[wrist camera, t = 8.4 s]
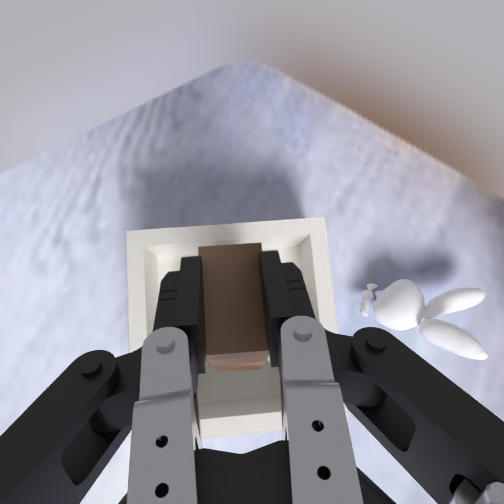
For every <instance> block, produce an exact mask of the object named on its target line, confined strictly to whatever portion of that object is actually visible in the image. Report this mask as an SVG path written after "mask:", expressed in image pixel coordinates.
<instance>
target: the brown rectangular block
mask: <svg viewBox="0 0 504 504" xmlns="http://www.w3.org/2000/svg"><path fill="white" fill-rule="evenodd" d="M259 251H262V243H261V242H260V243H245V244H231V245H216V246H201V247H198V256H201V257H202V265H203V286H204V307H205V328H206V360H207V361H208V362H209V363H210V364H211V365H212V366H213V367H214V368H215V369H216V370H217V371H218V372H219V373H221V372H233V371H245V370H257V369H261V367H262V366H263V364H264V362H265V361H266V359H267V357H268V356H269V350H268V344H267V337H266V328H265V318H264V308H263V298H262V288H261V278H260V268H259V258H258V253H259Z"/></svg>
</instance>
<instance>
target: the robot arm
mask: <svg viewBox="0 0 504 504" xmlns="http://www.w3.org/2000/svg"><path fill="white" fill-rule="evenodd" d="M258 258H259V268H260V278H261V288H262V298H263V308H264V318H265V328H266V337H267V344H268V350H269V357H270V363H271V368H272V367H278V368H279V374H280V401H281V420H282V440H281V441H277V442H274V443H271V444H269V445H266V446H264V447H261V448H258V449H256V450H253V451H250V452H248V453H245V454H236V453H230V452H224V451H218V450H212V449H206V448H203V447H202V436H201V425H200V413H199V402H198V392H197V388H198V374H205V373H206V328H205V307H204V286H203V265H202V257H201V256H190V257H181V264H180V271H169V272H167V274H166V275H165V276H164V278H163V279H162V280H161V284H160V290H159V296H158V302H157V308H156V314H155V320H154V326H153V331H152V333H151V334H149V335H148V336H147V337H146V339H145V340H144V342H143V345H142V347H140V348H139V349H137V350H135V351H133V352H131V353H128V354H125V355H122V356H119V357H116V358H115V357H114V355H113V354H112V353H110V352H108V351H105V350H95V351H90V352H87V353H85V354H83V355H81V356H80V357H78V358H77V359H76V360H74V361H73V362H72V363H71V364H70V365H69V366H68V367H67V368H66V370H65V371H64V372H63V373H62V374H61V375H60V376H59V377H58V378H57V379H56V380H55V381H54V382H53V383H52V384H51V385H50V386H49V387H48V388H47V389H46V390H45V391H44V392H43V393H42V394H41V395H40V396H39V397H38V398H37V399H36V400H35V401H34V402H33V403H32V404H31V405H30V406H29V407H28V408H27V409H26V410H25V411H24V413H23V414H22V415H21V416H20V417H19V418H18V419H17V420H16V421H15V422H14V423H13V424H12V425H11V426H10V427H9V428H8V429H7V430H6V431H5V432H4V433H3V434H2V435H1V436H0V504H80V502H81V501H82V499H83V498H84V496H85V495H86V494H87V492H88V491H89V489H90V488H91V487H92V485H93V484H94V482H95V481H96V479H97V478H98V477H99V475H100V474H101V472H102V471H103V469H104V468H105V467H106V465H107V464H108V462H109V461H110V460H111V458H112V457H113V455H114V454H115V452H116V451H117V450H118V448H119V447H120V445H121V444H122V442H123V441H124V440H125V438H126V437H127V435H128V434H129V433H130V431H131V430H132V434H131V449H130V463H129V478H128V492H127V493H126V495H125V496H124V497H123V498H122V500H121V501H120V502H119V503H118V504H396V503H395V502H394V501H393V500H392V499H391V498H390V497H389V496H388V495H387V494H386V493H385V492H383V491H382V490H381V489H380V488H379V487H378V486H377V485H376V484H375V483H374V482H373V481H372V480H371V479H370V478H368V477H367V476H366V475H365V474H364V473H363V472H362V471H361V470H360V469H359V468H357V467H356V463H355V458H354V453H353V448H352V443H351V438H350V433H349V428H348V423H347V418H346V413H345V408H344V404H345V406H346V407H347V408H348V410H349V411H350V412H351V413H352V414H353V415H354V416H355V417H356V418H357V419H358V420H359V421H360V422H361V423H362V424H363V425H364V426H365V428H366V429H367V430H368V431H369V432H370V433H371V434H372V435H373V436H374V437H375V438H376V439H377V440H378V441H379V442H380V443H381V444H382V445H383V446H384V448H385V449H386V450H387V451H388V452H389V453H390V454H391V455H392V456H393V457H394V458H395V459H396V460H397V461H398V462H399V463H400V464H401V465H402V466H403V468H404V469H405V470H406V471H407V472H408V473H409V474H410V475H411V476H412V477H413V478H414V479H415V480H416V481H417V482H418V483H419V484H420V485H421V486H422V488H423V489H424V490H425V491H426V492H427V493H428V494H429V495H430V496H431V497H432V498H433V499H434V500H435V501H436V502H437V503H438V504H504V422H503V421H502V420H501V419H500V418H498V417H497V416H496V415H494V414H493V413H492V412H491V411H489V410H488V409H487V408H486V407H484V406H483V405H482V404H480V403H479V402H478V401H477V400H475V399H474V398H473V397H471V396H470V395H469V394H468V393H466V392H465V391H464V390H462V389H461V388H460V387H459V386H457V385H456V384H455V383H453V382H452V381H451V380H450V379H448V378H447V377H446V376H444V375H443V374H442V373H441V372H439V371H438V370H437V369H435V368H434V367H433V366H432V365H430V364H429V363H428V362H426V361H425V360H424V359H423V358H421V357H420V356H419V355H417V354H416V353H415V352H414V351H412V350H411V349H410V348H408V347H407V346H406V345H405V344H403V343H402V342H401V341H399V340H398V339H397V338H396V337H394V336H393V335H392V334H390V333H389V332H387V331H385V330H383V329H380V328H375V327H366V328H362V329H360V330H358V331H357V332H356V333H355V334H354V335H353V337H352V336H346V335H340V334H336V333H333V332H330V331H328V330H326V329H325V328H324V327H323V325H322V324H321V323H320V322H319V321H317V320H316V317H315V314H314V311H313V308H312V304H311V301H310V298H309V295H308V291H307V289H306V285H305V282H304V279H303V275H302V272H301V270H300V269H299V268H298V267H297V266H296V265H295V264H294V263H293V262H286V263H281V260H280V256H279V252H278V250H270V251H259V253H258Z"/></svg>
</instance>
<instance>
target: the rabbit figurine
mask: <svg viewBox="0 0 504 504" xmlns="http://www.w3.org/2000/svg"><path fill="white" fill-rule="evenodd" d="M366 286H367V288H368V289H366V290H364V291H363V292H362V293H361V296H362V297H363V298H365V299H363V300H362V303H361V308H360V312H361V314H362V315H364V316H369V315H368V313H367V311H368V306H369V300H370V299H372V298H373V292H372V290H373V289H375V288H376V287H378V285H377V284H372V283H371V284H366ZM374 293H375V295H376V301H371V304H372V313H373V316H374V317H375V319H376V320H377V321H378V322H380V323H381V324H382V325H384V326H386V327H388V328H391V329H394V330H406V329H409V328H412V327H414V326H417V325H419V331H420V333H421V335H422V336H423V337H424V338H425V339H427V340H428V341H430V342H432V343H433V344H435V345H438V346H440V347H442V348H444V349H446V350H449V351H451V352H453V353H456V354H458V355H461V356H464V357H467V358H471V359H477V360H485V359H486V358H488V354H487V351H486V350H485V349H484V348H483V347H482V345H481V344H480V343H479V342H478V341H477V340H476V339H475V338H474V337H473V336H472V335H471V334H469V333H468V332H466V331H465V330H463V329H461V328H459V327H457V326H455V325H453V324H450V323H447V322H444V321H441V320H437V319H432V318H434V317H437V316H440V315H443V314H447V313H451V312H455V311H460V310H464V309H467V308H470V307H473V306H475V305H476V304H478V303H480V302H481V301H482V300H483V299H484V297H485V293H484V291H483V290H481V289H478V288H460V289H455V290H451V291H448V292H445V293H443V294H441V295H439V296H437V297H435V298H434V299H432V300H431V301H430V302H429V303H428V304H427V306H426V307H425V301H424V296H423V294H422V291H421V290H420V289H419V287H418V286H417V285H416V284H415V283H413V282H412V281H410V280H407V279H401V280H397V281H395V282H394V283H392V284H391V285H390V286H388V287H387V288H386V289H384V290H382V291H380V290H378V291H376V292H374ZM423 317H424V318H425V320H423V321H422V322H421V320H422V318H423Z"/></svg>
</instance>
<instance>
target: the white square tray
mask: <svg viewBox="0 0 504 504" xmlns="http://www.w3.org/2000/svg"><path fill="white" fill-rule="evenodd" d="M260 242H261V243H262V251H270V250H278V252H279V256H280V260H281V263H286V262H293V263H294V264H295V265H296V266H297V267H298V268H299V269H300V270H301V272H302V275H303V279H304V282H305V285H306V289H307V291H308V295H309V298H310V301H311V304H312V308H313V311H314V314H315V317H316V320H317V321H319V322H320V323H321V324H322V325H323V327H324V328H325V329H326V330H328V331H330V332H333V333H336V334H338V327H337V319H336V310H335V302H334V293H333V285H332V276H331V268H330V259H329V251H328V242H327V234H326V225H325V217H317V218H302V219H288V220H274V221H259V222H245V223H231V224H216V225H202V226H188V227H173V228H159V229H145V230H130V231H126V248H127V283H128V318H129V352H130V353H131V352H133V351H135V350H137V349H139V348H140V347H142V345H143V342H144V340H145V339H146V337H147V336H148V335H149V334H151V333H152V331H153V326H154V320H155V314H156V308H157V302H158V296H159V290H160V284H161V280H162V279H163V278H164V276H165V275H166V274H167V272H169V271H180V264H181V257H190V256H198V247H201V246H216V245H231V244H245V243H260ZM197 392H198V402H199V413H200V425H201V436H202V439H204V438H214V437H224V436H234V435H243V434H253V433H263V432H273V431H282V420H281V401H280V374H279V368H278V367H272V368H271V363H270V357H269V356H268V357H267V359H266V361H265V362H264V364H263V366H262V367H261V369H257V370H245V371H233V372H221V373H219V372H218V371H217V370H216V369H215V368H214V367H213V366H212V365H211V364H210V363H209V362H208V361H207V360H206V373H205V374H198V388H197ZM344 408H345V413H346V418H347V423H348V424H349V421H348V412H347V407H346V406H345V404H344Z"/></svg>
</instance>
